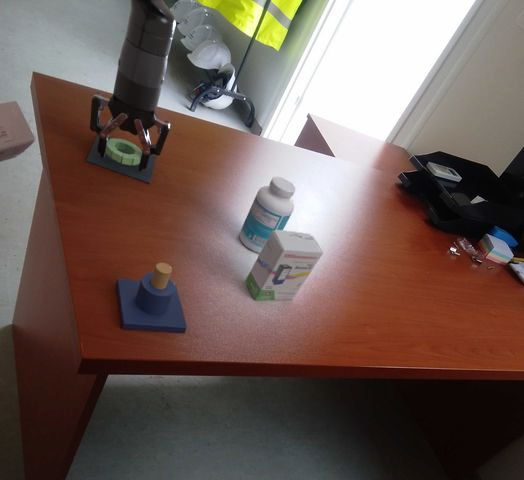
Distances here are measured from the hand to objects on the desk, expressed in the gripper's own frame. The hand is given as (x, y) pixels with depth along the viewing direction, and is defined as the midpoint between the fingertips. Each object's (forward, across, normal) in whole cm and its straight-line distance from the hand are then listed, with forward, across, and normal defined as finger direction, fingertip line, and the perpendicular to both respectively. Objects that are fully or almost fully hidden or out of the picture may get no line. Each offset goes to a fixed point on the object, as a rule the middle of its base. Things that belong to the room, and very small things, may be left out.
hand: (121, 162), depth 88 cm
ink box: (+1, -30, +25) cm, 39 cm away
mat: (+1, 0, -3) cm, 3 cm away
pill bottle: (+1, -28, +11) cm, 30 cm away
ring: (-1, 0, 0) cm, 1 cm away
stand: (+1, -10, +37) cm, 38 cm away
